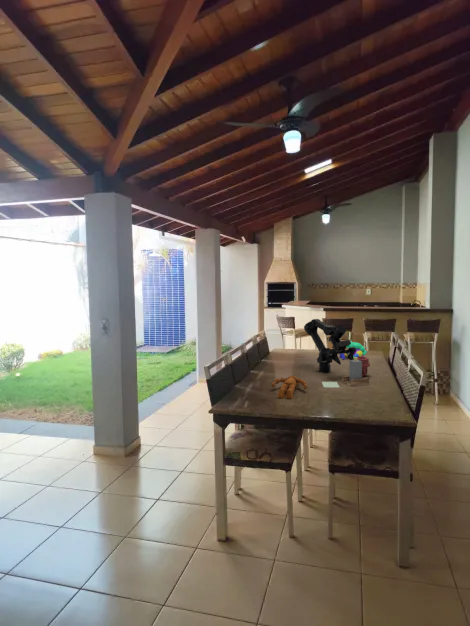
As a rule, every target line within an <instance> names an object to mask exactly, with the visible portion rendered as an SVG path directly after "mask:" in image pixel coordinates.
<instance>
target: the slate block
mask: <svg viewBox="0 0 470 626" xmlns="http://www.w3.org/2000/svg"><path fill="white" fill-rule="evenodd" d="M348 367H349V369H348V370H349V375H348V376H349V382H350V380H355V379H363V377H362V361H359V360H358V358H356V357H354V360H349V365H348Z"/></svg>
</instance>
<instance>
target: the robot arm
mask: <svg viewBox="0 0 470 626" xmlns="http://www.w3.org/2000/svg"><path fill="white" fill-rule="evenodd" d="M303 329H304V331H305V333H306V334H307V335H309V336H310V337H311V338H312V339H311V340H312V341H313V343H314V345H315V346H316V348H317V351H318V357H317V358H316V362H317V363H318V366H319V367H318V371H317V372H318V373H324V374H328V373H330V372H332V371H331V369H332V368H331V363H333V361H335V363H336V364H338V365H342V364H341V363H342V362H341V360H340V357H339V356H338V355H340V354H344V353H346V354H347V355H348V356H346V357H347V358H348V359H349V361H350V360H354V358H353V354H354V353H355V352H356V348H355V347H349V348H347V346H349V345H350V344H351V342H352V341H351V340H350V339H346V340H341V339H342V338H343V337H344V335H345V334H346V332H347V328H345V327H344V326H342V325H341V324H337V325H336V326H335V325H329V324H327V323H325V322H324V321H323V320H321V319H319V318H313V319H311V320H310V321H309V322H307V323H305V324H304V326H303ZM318 329H320V330H322V333H323V334H325V336H329V337H328V342H330V343H331V344H332V348H329V347H326V345H325V344H324V342H323V340H322V338H321V337H320V335H319V333H318Z"/></svg>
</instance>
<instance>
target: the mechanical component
mask: <svg viewBox="0 0 470 626" xmlns="http://www.w3.org/2000/svg"><path fill="white" fill-rule="evenodd" d="M356 358H358V360H359V361H362V378H364V377H365V376H367V374H368V368H369V367H371V362H369V360H370V359H369V357H366V356H365V355H364V356H359V357H356Z"/></svg>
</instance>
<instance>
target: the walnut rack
mask: <svg viewBox="0 0 470 626" xmlns="http://www.w3.org/2000/svg"><path fill="white" fill-rule="evenodd" d="M341 383H342V384H344V385H347V386H350V387H351V388H352V387H359V386H369V385H370V378H369V377H365V378H364V377H362V379H355V380H350V382H349V375H347V376H344V375H343V376H341Z"/></svg>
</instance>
